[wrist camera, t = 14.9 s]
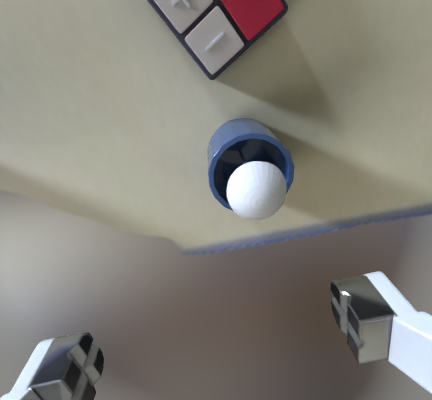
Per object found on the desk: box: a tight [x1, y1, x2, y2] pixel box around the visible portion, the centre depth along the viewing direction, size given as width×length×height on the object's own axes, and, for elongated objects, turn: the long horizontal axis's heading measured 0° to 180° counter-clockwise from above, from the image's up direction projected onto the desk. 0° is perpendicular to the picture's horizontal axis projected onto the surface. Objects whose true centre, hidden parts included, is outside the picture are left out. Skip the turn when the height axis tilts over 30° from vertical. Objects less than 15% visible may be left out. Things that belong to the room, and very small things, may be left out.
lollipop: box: [227, 153, 287, 220], centre depth 32 cm, size 6×6×15 cm
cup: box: [208, 118, 294, 210], centre depth 35 cm, size 10×10×9 cm
